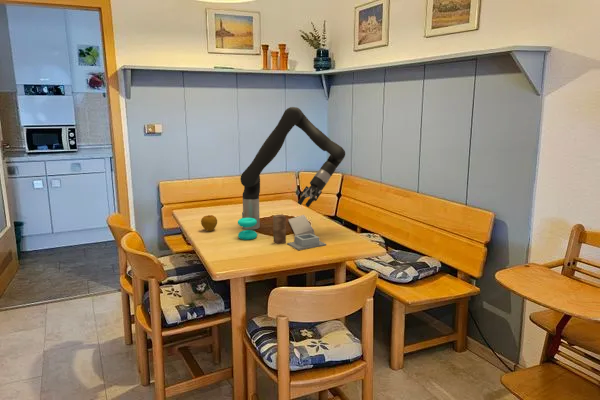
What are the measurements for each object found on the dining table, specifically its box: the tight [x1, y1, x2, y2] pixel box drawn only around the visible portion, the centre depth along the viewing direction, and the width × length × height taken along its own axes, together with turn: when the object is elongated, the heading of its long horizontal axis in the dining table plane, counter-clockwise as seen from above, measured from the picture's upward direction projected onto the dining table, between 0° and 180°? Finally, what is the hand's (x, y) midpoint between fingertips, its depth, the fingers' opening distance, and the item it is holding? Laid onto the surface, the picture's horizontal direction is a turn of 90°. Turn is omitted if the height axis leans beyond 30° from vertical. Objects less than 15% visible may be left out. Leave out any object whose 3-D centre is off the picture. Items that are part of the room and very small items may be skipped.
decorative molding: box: [287, 214, 316, 236], centre depth 258 cm, size 34×5×10 cm
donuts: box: [237, 217, 258, 241], centre depth 240 cm, size 10×10×10 cm
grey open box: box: [286, 233, 327, 251], centre depth 228 cm, size 16×11×4 cm
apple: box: [200, 214, 218, 232], centre depth 254 cm, size 9×9×9 cm
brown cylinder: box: [272, 214, 287, 245], centre depth 231 cm, size 5×4×14 cm
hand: (302, 204), depth 236 cm, fingers open, 8 cm apart
